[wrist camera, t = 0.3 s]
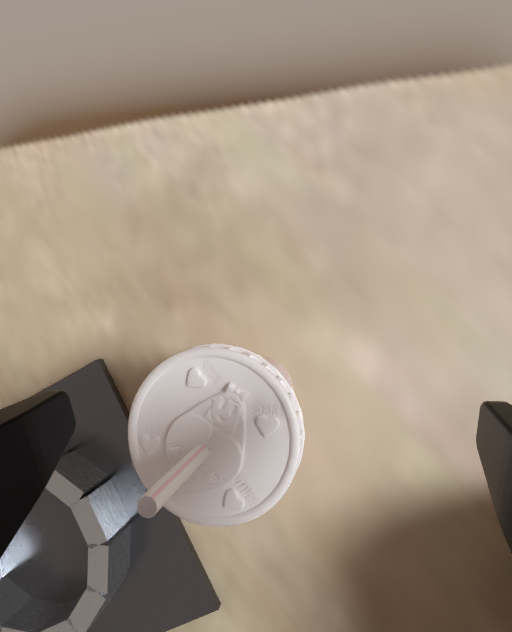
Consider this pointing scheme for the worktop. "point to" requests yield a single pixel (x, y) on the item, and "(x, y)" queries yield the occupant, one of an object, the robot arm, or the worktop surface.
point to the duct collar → (99, 536)
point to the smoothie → (215, 435)
